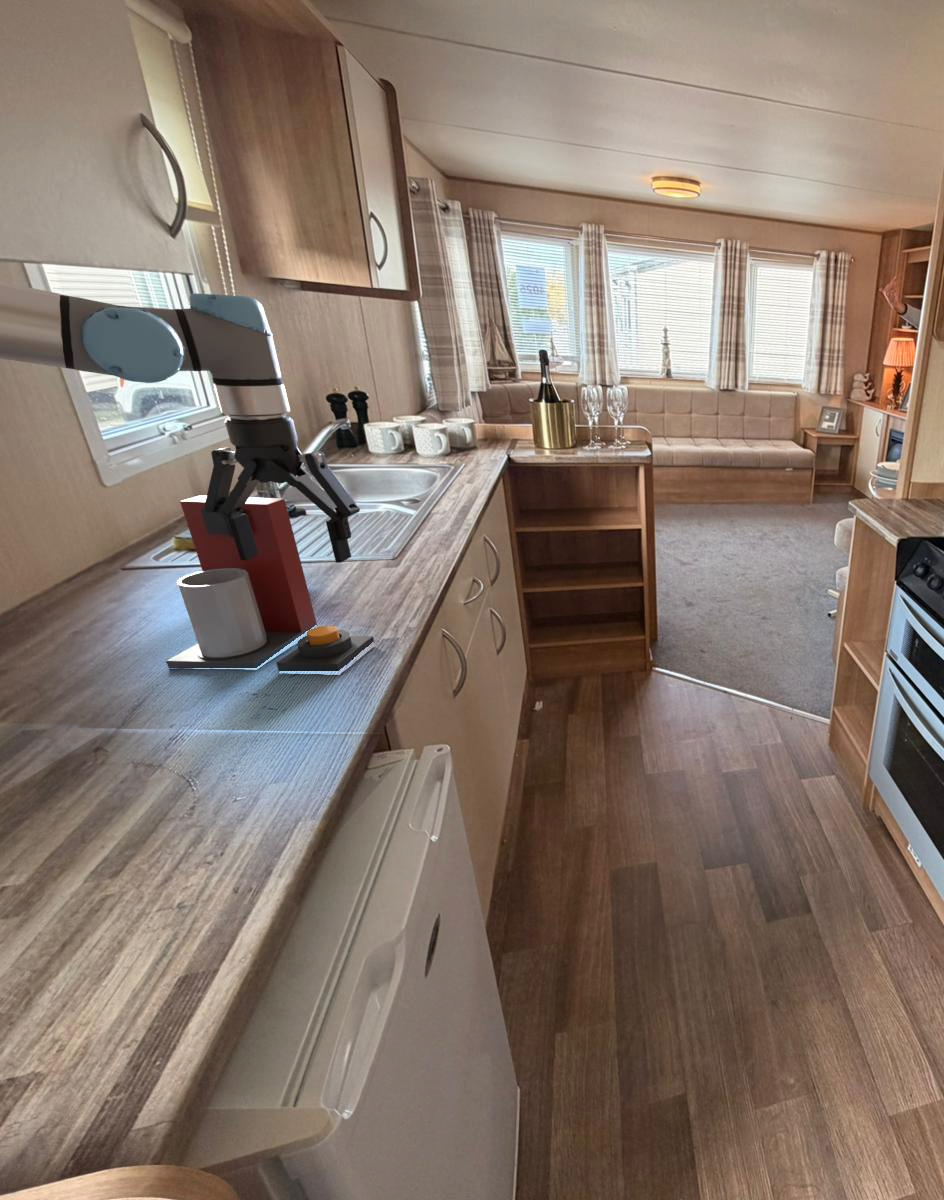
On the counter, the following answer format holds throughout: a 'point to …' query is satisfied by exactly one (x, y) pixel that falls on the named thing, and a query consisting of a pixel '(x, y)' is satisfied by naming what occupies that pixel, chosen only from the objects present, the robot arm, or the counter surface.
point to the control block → (324, 654)
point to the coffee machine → (254, 576)
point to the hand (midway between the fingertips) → (297, 558)
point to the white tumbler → (223, 612)
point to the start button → (323, 635)
